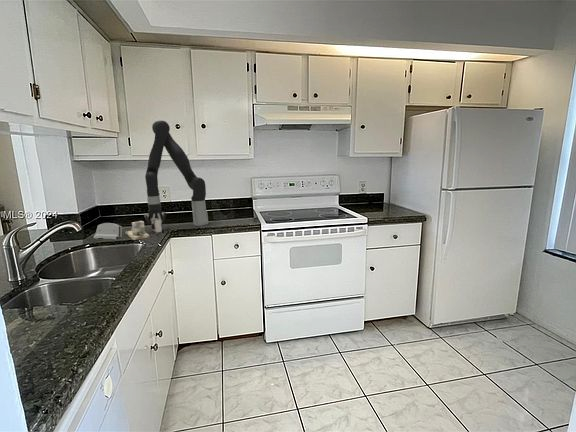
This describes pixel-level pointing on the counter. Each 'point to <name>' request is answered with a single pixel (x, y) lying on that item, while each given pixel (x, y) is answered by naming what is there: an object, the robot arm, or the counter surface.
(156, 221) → the cream upright block
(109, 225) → the grey rounded block
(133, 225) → the beige hat shape
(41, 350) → the counter surface
